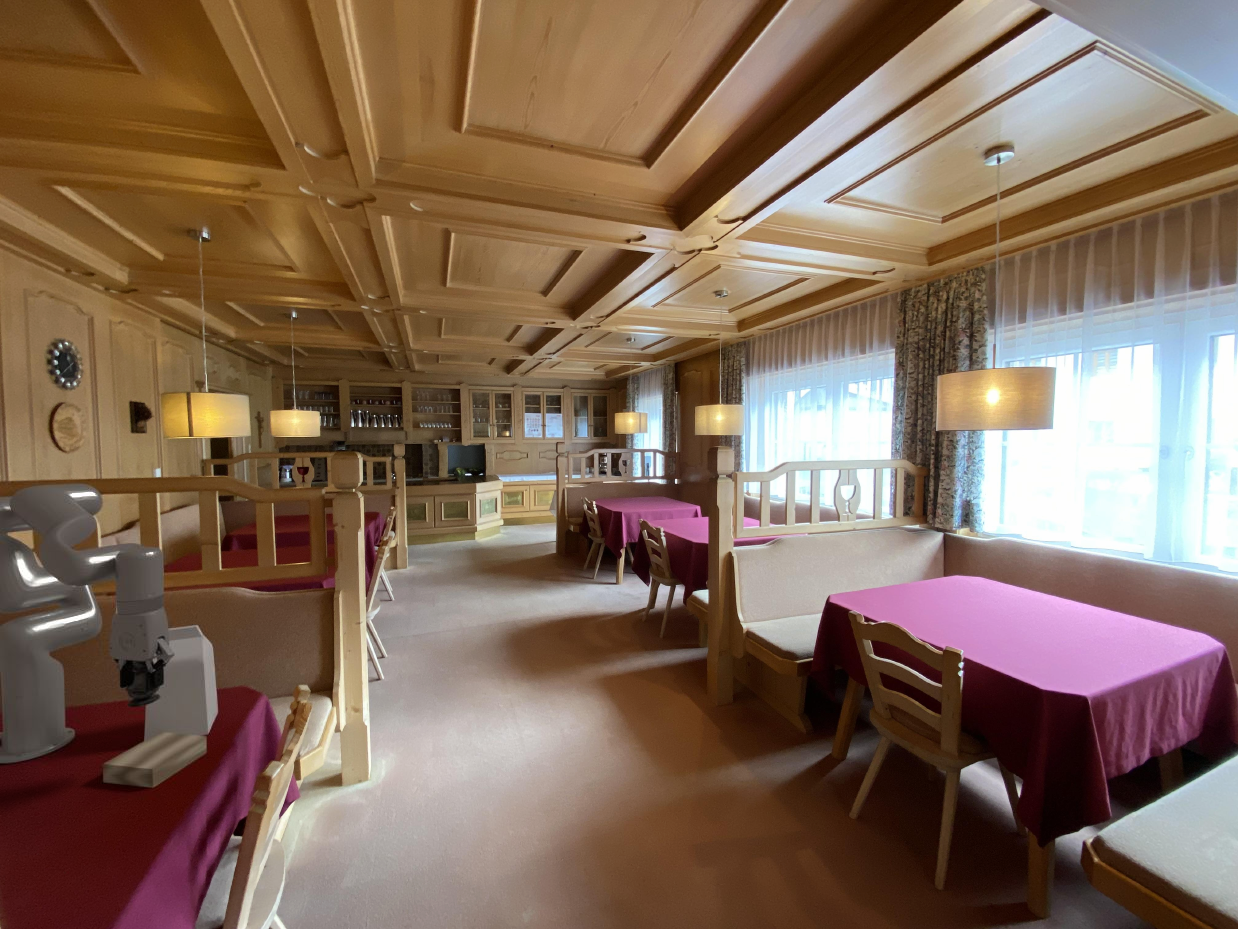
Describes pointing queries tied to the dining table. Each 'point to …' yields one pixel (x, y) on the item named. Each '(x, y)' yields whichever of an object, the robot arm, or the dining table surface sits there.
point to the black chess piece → (141, 687)
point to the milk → (185, 687)
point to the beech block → (154, 759)
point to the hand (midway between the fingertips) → (142, 685)
